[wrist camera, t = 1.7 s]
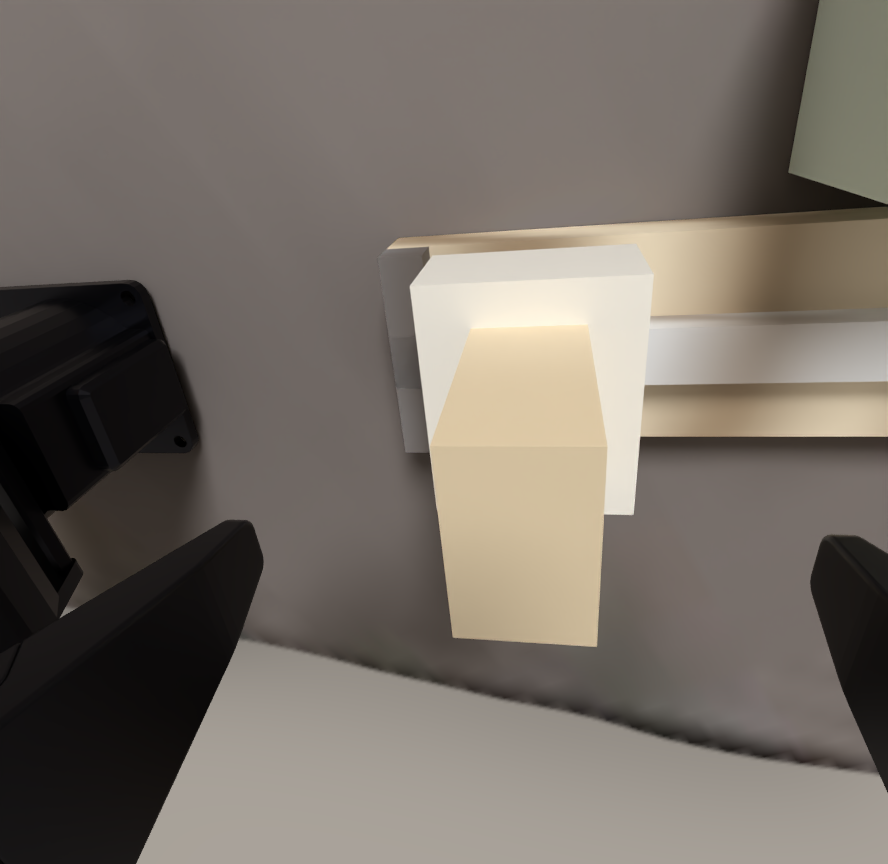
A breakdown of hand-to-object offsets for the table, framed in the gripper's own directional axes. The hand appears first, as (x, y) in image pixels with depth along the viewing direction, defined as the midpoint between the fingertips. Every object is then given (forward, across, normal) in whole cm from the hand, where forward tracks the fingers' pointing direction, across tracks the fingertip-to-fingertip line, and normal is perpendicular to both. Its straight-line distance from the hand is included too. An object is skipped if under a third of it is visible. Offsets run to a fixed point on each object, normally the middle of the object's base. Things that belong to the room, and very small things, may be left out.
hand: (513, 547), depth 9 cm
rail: (+10, -5, 0) cm, 11 cm away
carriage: (+8, 0, 0) cm, 8 cm away
